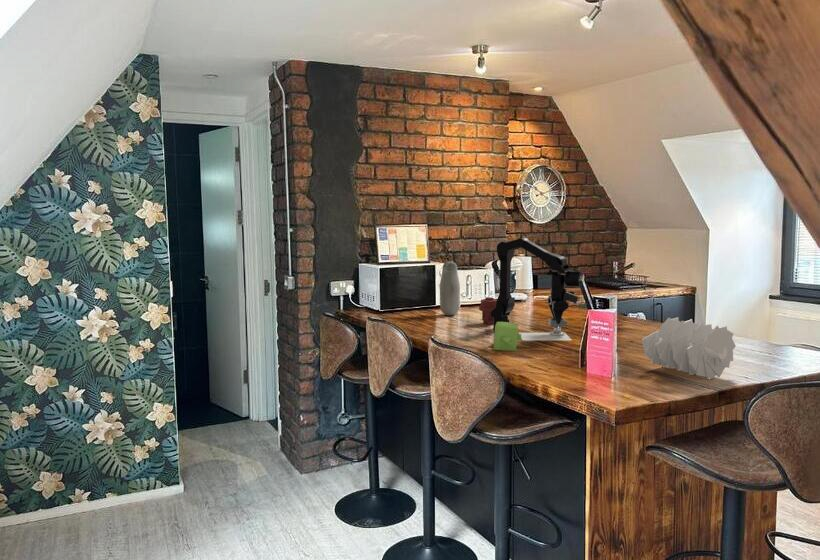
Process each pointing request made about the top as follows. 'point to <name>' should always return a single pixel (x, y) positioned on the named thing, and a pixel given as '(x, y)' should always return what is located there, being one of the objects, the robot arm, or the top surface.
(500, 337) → the green pegged block
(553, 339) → the mat
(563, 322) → the square frame
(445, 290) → the grey bottle
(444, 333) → the top surface
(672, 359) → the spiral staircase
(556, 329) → the silver domed knob
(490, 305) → the mechanical component
